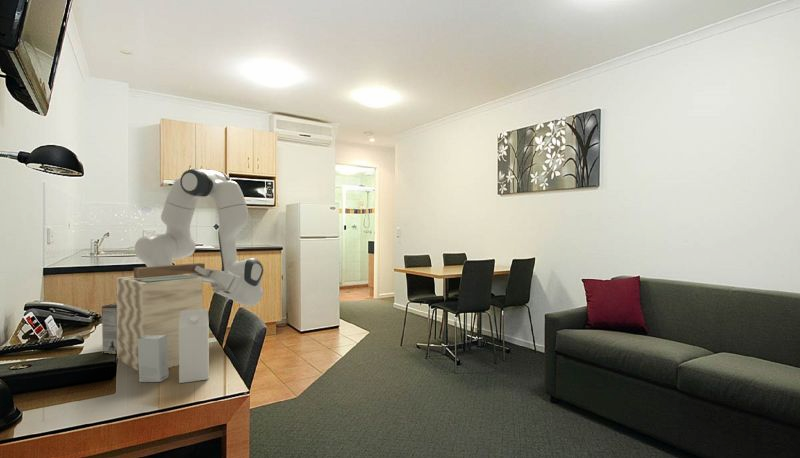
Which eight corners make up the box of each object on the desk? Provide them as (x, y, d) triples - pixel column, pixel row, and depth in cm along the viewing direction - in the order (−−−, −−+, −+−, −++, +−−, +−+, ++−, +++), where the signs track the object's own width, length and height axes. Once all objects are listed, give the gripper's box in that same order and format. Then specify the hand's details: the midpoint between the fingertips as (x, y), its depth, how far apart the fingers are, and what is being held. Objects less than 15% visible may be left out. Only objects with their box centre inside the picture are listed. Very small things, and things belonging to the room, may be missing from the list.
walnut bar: (133, 277, 134) (133, 267, 134) (199, 271, 150) (199, 263, 150) (138, 278, 131) (138, 268, 131) (204, 272, 148) (204, 263, 148)
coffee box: (125, 346, 147) (124, 300, 147) (140, 347, 145) (140, 301, 145) (101, 354, 138) (101, 305, 138) (117, 355, 136) (117, 306, 136)
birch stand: (117, 358, 133) (116, 276, 133) (173, 346, 146) (172, 271, 146) (143, 374, 119) (142, 282, 119) (202, 359, 132) (202, 276, 132)
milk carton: (181, 375, 118) (180, 308, 118) (208, 371, 121) (208, 306, 121) (179, 383, 112) (178, 313, 111) (208, 379, 114) (207, 311, 114)
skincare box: (169, 377, 117) (169, 334, 117) (159, 383, 112) (159, 338, 112) (147, 377, 117) (147, 334, 117) (137, 383, 112) (136, 338, 112)
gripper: (214, 273, 163) (182, 257, 154) (242, 277, 150) (209, 260, 141) (206, 288, 161) (173, 273, 151) (234, 293, 148) (200, 277, 138)
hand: (191, 267), depth 146 cm, fingers closed on walnut bar, 4 cm apart
